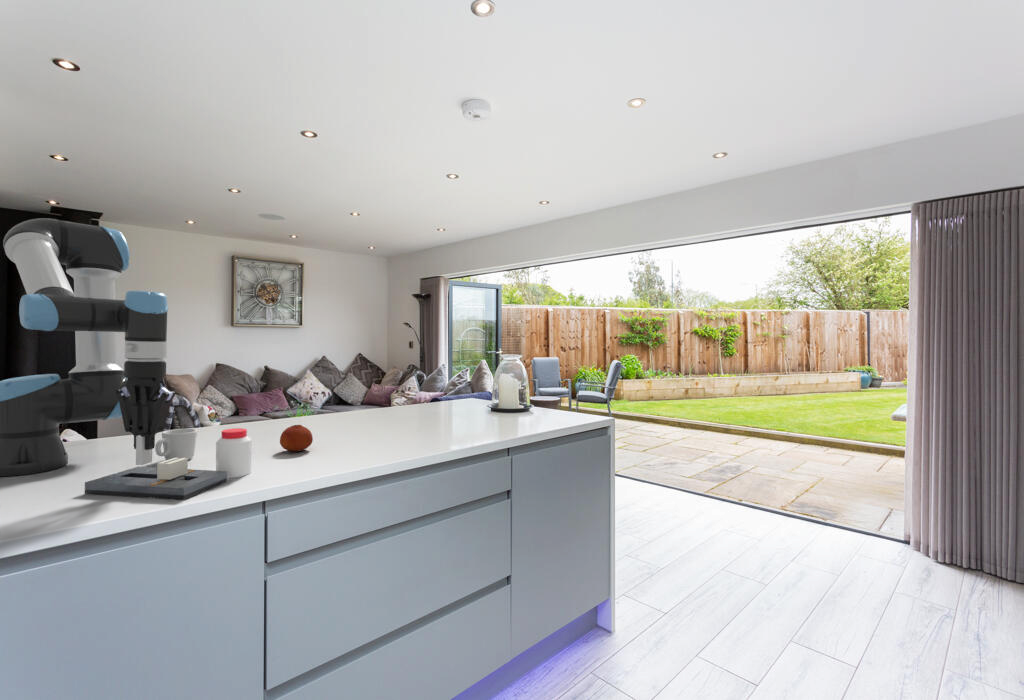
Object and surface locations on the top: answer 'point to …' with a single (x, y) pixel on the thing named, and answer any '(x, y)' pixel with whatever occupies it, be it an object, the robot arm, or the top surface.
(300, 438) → the fruit
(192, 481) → the console
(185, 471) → the fader
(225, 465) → the pill bottle
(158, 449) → the cup
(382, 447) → the top surface
